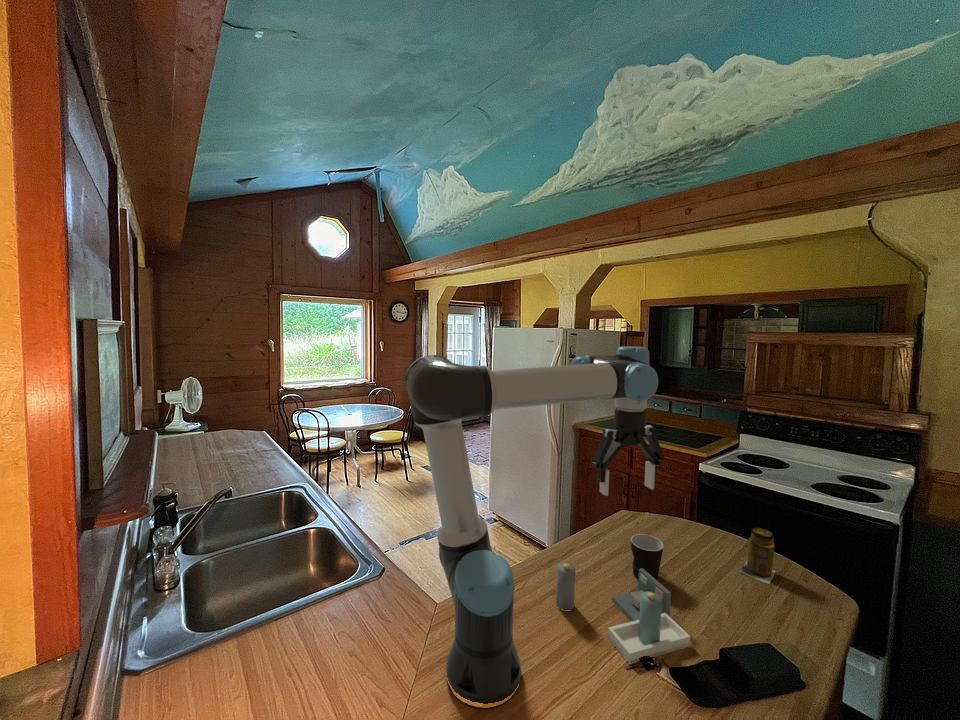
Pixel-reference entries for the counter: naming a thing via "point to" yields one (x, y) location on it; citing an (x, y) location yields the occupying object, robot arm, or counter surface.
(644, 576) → the grey l-shaped piece
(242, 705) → the counter surface
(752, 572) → the condiment
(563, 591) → the cell
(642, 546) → the coffee mug
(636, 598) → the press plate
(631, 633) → the trough
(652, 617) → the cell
